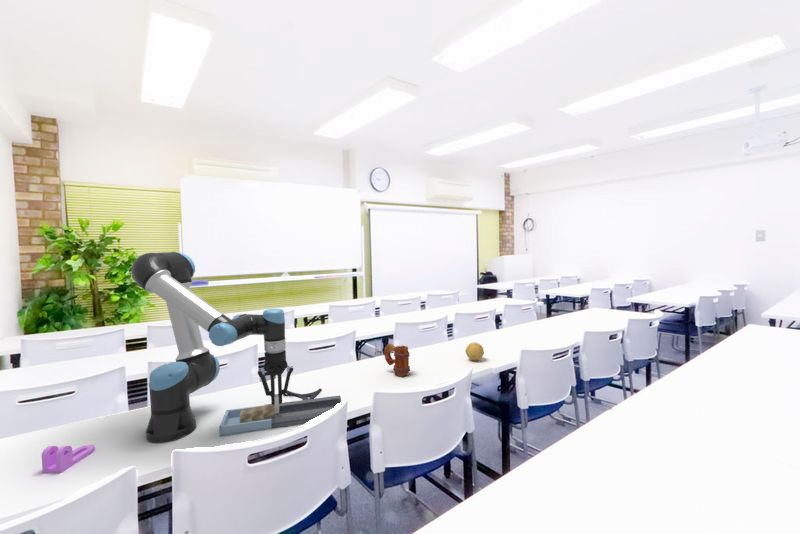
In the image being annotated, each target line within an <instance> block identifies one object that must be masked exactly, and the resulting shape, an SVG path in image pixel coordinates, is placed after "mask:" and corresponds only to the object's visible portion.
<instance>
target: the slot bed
mask: <svg viewBox="0 0 800 534" xmlns="http://www.w3.org/2000/svg"><path fill="white" fill-rule="evenodd" d="M340 402H341V403H342V397H341V395H332V396H325V397H315V398H314V399H308V400H303V399H302V400H293V401H288V402H287V401H285V402H282V404H279V414H275V415H272V418H271V422H272V429H271V430H274V429H282V428H286V427H294V426H301V425H305V424H304V423H306V422H308V421H309V420H311V419H313V418H315V417H317V416H319V415H321V414H322V413H324V412H326V411H328V410H330V409H332V408H334V406H335V405H336V404H337V403H340Z"/></svg>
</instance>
